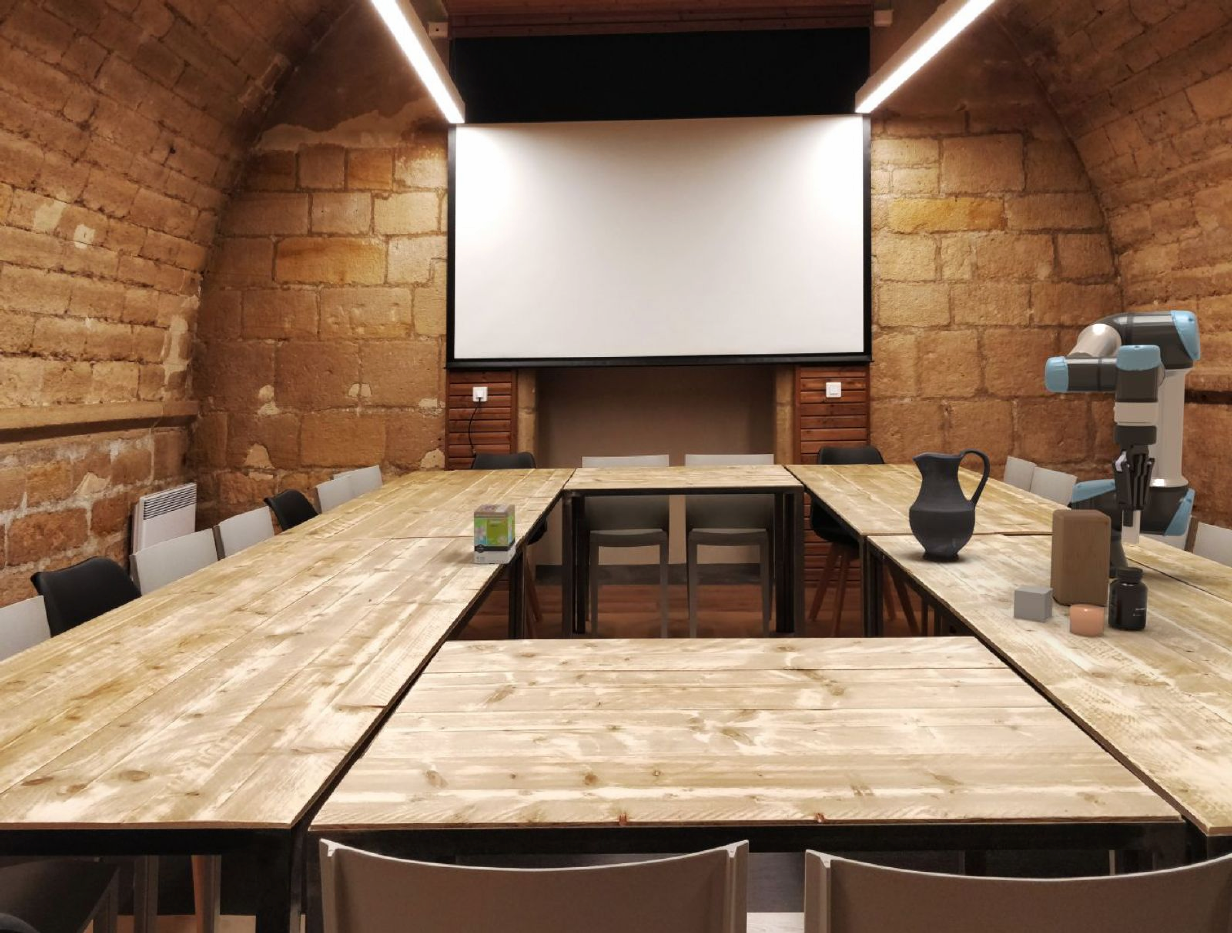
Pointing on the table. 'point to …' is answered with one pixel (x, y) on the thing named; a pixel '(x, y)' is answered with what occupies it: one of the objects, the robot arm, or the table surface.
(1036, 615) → the grey cube
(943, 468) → the pitcher
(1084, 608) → the terracotta puck
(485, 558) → the tea box
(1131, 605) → the supplement bottle
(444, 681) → the table surface
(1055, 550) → the wooden block
